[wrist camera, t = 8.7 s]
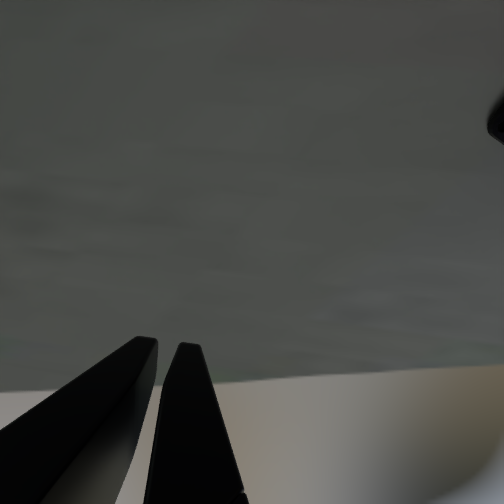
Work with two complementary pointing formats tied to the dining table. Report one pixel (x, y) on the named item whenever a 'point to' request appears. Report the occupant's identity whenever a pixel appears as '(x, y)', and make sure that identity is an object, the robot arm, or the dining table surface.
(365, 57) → the dining table surface
